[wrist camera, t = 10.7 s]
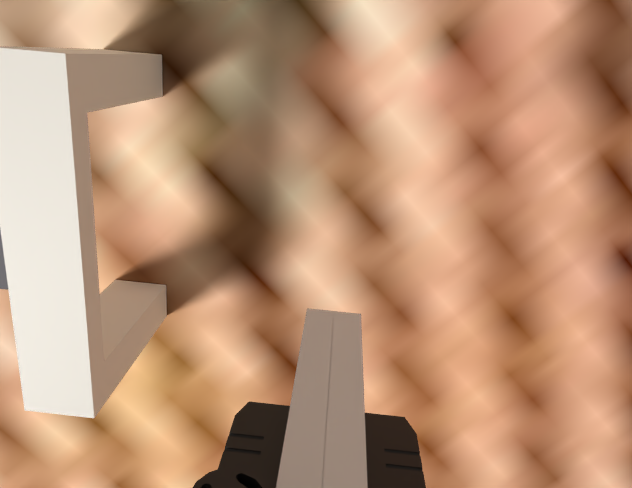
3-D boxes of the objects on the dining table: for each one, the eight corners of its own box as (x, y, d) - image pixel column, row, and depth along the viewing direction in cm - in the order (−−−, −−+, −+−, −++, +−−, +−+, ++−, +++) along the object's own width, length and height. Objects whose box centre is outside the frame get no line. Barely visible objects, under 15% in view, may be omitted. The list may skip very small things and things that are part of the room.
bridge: (161, 54, 26) (65, 53, 17) (166, 315, 31) (94, 418, 22) (102, 49, 26) (-25, 45, 17) (116, 310, 31) (24, 410, 22)
